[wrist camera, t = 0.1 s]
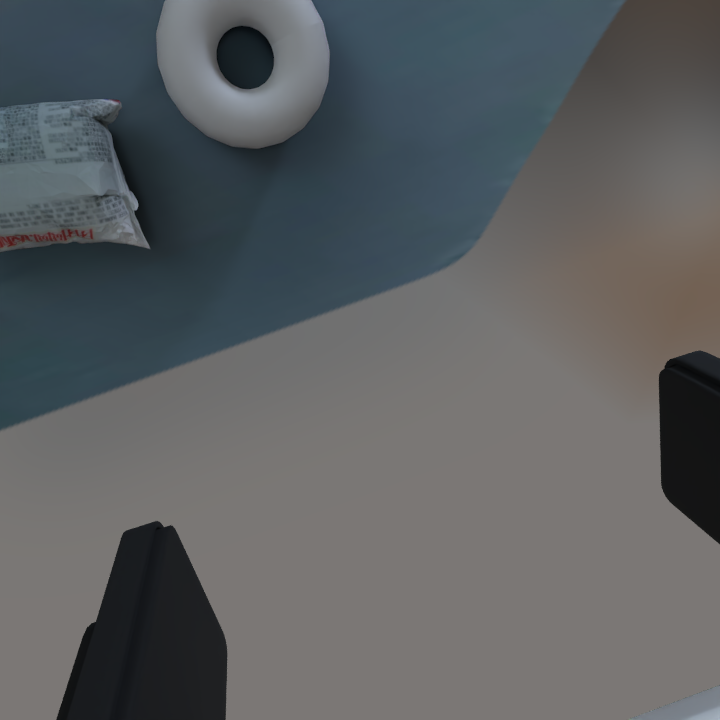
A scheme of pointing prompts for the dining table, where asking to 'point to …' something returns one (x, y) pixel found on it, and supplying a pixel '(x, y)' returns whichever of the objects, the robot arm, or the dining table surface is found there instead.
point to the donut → (230, 103)
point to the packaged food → (63, 177)
